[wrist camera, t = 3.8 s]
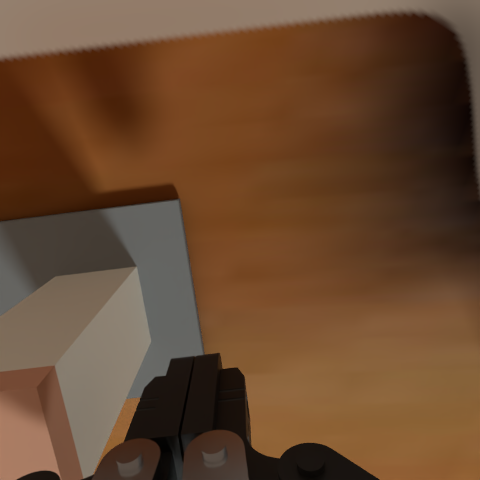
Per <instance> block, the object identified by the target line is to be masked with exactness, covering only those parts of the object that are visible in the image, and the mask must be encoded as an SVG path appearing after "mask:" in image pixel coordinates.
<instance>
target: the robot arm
mask: <svg viewBox="0 0 480 480" xmlns="http://www.w3.org/2000/svg"><path fill="white" fill-rule="evenodd" d="M17 480H61V479H60V477H59V475H58V474H57V473H55V472H52V471H47V470H44V471H36V472H33V473H29V474H27V475H24V476H22V477H20V478H18V479H17ZM81 480H379V479H378V478H376V477H375V476H373V475H371V474H370V473H368V472H367V471H365V470H364V469H362V468H361V467H359V466H357V465H356V464H354V463H353V462H351V461H350V460H348V459H347V458H345V457H344V456H342V455H340V454H339V453H337V452H336V451H334V450H333V449H331V448H329V447H327V446H325V445H322V444H317V443H303V444H298V445H295V446H293V447H291V448H289V449H288V450H287V451H285V452H284V453H283V455H282V456H281V457H280V459H279V458H273V457H269V456H265V455H263V454H261V453H259V452H257V451H256V450H254V449H253V448H252V447H251V428H250V415H249V408H248V400H247V392H246V385H245V377H244V375H243V374H242V373H241V371H240V370H239V369H238V368H228V369H222V362H221V356H220V353H215V354H206V355H197V356H196V357H195V356H189V357H180V358H172V359H171V360H170V363H169V366H168V370H167V373H166V376H157V377H154V378H153V379H152V380H151V381H150V382H149V383H148V384H147V385H146V386H145V387H144V390H143V393H142V395H141V398H140V402H139V403H138V406H137V408H136V411H135V414H134V416H133V419H132V422H131V424H130V427H129V429H128V432H127V435H126V437H125V440H124V442H123V443H121V444H119V445H117V446H116V447H114V448H113V449H111V450H110V451H109V452H108V453H107V454H106V455H105V456H104V457H103V459H102V461H101V462H100V464H99V466H98V468H97V470H96V472H95V474H94V475H91V476H89V477H87V478H84V479H81Z"/></svg>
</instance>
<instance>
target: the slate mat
mask: <svg viewBox="0 0 480 480" xmlns="http://www.w3.org/2000/svg"><path fill="white" fill-rule="evenodd" d="M136 266H137V270H138V276H139V281H140V286H141V291H142V296H143V302H144V307H145V312H146V317H147V322H148V328H149V333H150V338H151V343H150V345H149V348H148V350H147V352H146V354H145V357H144V359H143V361H142V364H141V366H140V368H139V370H138V373H137V375H136V377H135V379H134V382H133V384H132V386H131V388H130V391H129V393H128V395H127V398H126V399H129V398H137V397H141V395H142V393H143V390H144V387H145V386H146V385H147V384H148V383H149V382H150V381H151V380H152V379H153V378H154V377H157V376H166V373H167V370H168V366H169V363H170V360H171V359H172V358H180V357H189V356H195V357H196V356H197V355H205V354H204V347H203V341H202V335H201V329H200V322H199V316H198V310H197V304H196V297H195V291H194V285H193V279H192V272H191V266H190V260H189V254H188V247H187V241H186V235H185V229H184V222H183V216H182V210H181V204H180V199H174V200H166V201H158V202H150V203H142V204H134V205H126V206H118V207H110V208H102V209H94V210H86V211H78V212H70V213H62V214H54V215H47V216H39V217H31V218H23V219H15V220H7V221H0V316H1V315H3V314H4V313H6V312H7V311H8V310H10V309H11V308H13V307H14V306H15V305H17V304H18V303H19V302H21V301H22V300H24V299H25V298H26V297H28V296H29V295H31V294H32V293H33V292H35V291H36V290H37V289H39V288H40V287H42V286H43V285H44V284H46V283H47V282H48V281H50V280H51V279H53V278H54V277H55V276H63V275H71V274H79V273H87V272H95V271H104V270H112V269H120V268H128V267H136Z"/></svg>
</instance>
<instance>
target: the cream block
mask: <svg viewBox="0 0 480 480" xmlns="http://www.w3.org/2000/svg"><path fill="white" fill-rule="evenodd" d="M150 343H151V338H150V333H149V328H148V322H147V317H146V312H145V307H144V302H143V296H142V291H141V286H140V281H139V276H138V270H137V266H136V267H128V268H120V269H112V270H104V271H95V272H87V273H79V274H71V275H63V276H55V277H54V278H53V279H51V280H50V281H48V282H47V283H46V284H44V285H43V286H42V287H40V288H39V289H37V290H36V291H35V292H33V293H32V294H31V295H29V296H28V297H26V298H25V299H24V300H22V301H21V302H19V303H18V304H17V305H15V306H14V307H13V308H11V309H10V310H8V311H7V312H6V313H4V314H3V315H1V316H0V480H17V479H18V478H20V477H22V476H24V475H27V474H29V473H33V472H36V471H44V470H47V471H52V472H55V473H57V474H58V475H59V477H60V479H61V480H81V479H84V478H87V477H89V476H91V475H93V473H94V470H95V468H96V466H97V463H98V461H99V459H100V457H101V454H102V452H103V450H104V448H105V445H106V443H107V441H108V438H109V436H110V434H111V432H112V429H113V427H114V425H115V423H116V420H117V418H118V416H119V413H120V411H121V409H122V407H123V404H124V402H125V400H126V398H127V395H128V393H129V391H130V388H131V386H132V384H133V382H134V379H135V377H136V375H137V373H138V370H139V368H140V366H141V364H142V361H143V359H144V357H145V354H146V352H147V350H148V348H149V345H150Z"/></svg>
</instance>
